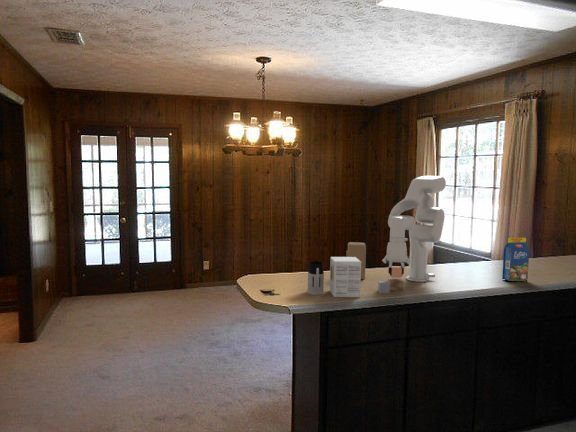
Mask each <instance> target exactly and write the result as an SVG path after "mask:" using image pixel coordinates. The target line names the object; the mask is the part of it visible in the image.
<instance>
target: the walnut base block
mask: <svg viewBox="0 0 576 432" xmlns="http://www.w3.org/2000/svg"><path fill="white" fill-rule="evenodd" d="M387 281H388V282H389V283H390V291H404V280H403V278H393V277H388V278H387Z"/></svg>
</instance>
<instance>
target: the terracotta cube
mask: <svg viewBox="0 0 576 432" xmlns="http://www.w3.org/2000/svg"><path fill="white" fill-rule="evenodd" d="M391 268H392V275H390V274H389V276H390V278H402V277H403V276H402V268H401V265H400V266H399V265H398V266H397V265H391ZM402 279H403V278H402Z"/></svg>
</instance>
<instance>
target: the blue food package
mask: <svg viewBox="0 0 576 432" xmlns="http://www.w3.org/2000/svg"><path fill="white" fill-rule="evenodd" d="M507 239H508V240H507V243H506V244H505V246H504V249H503V257H502V258H503V260H502V277H501V279H505V280H508V281H524V282H527V281H526V280H529V279H528V278H529V277H528V275H529V263H530V262H529V261H530V260H529V259H530V247H529V245H528V244H527V237H508V238H507Z"/></svg>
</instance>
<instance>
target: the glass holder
mask: <svg viewBox="0 0 576 432" xmlns="http://www.w3.org/2000/svg"><path fill="white" fill-rule="evenodd" d="M324 264H325V263H324V262H323V261H317V260H316V261H315V260H314V261H312V260H311V261H309V262H308V271H307V272H308V273H307V290H306V293H307V294H309V295H313V296H315V295H316V296H317V295H323V294H325V291H324V283H325V282H324V279H325V277H324V275H325V270H324V269H325V267H324Z"/></svg>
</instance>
